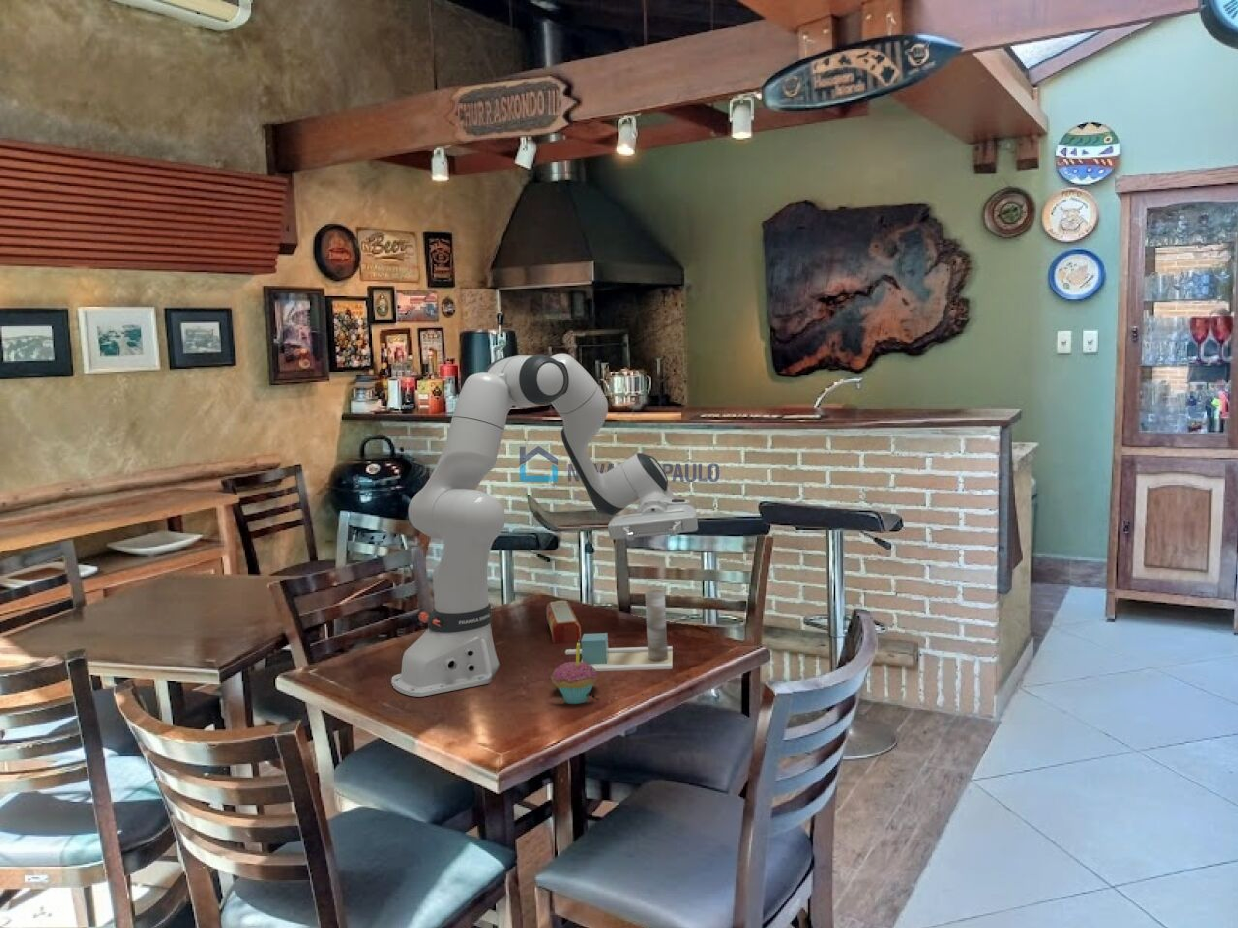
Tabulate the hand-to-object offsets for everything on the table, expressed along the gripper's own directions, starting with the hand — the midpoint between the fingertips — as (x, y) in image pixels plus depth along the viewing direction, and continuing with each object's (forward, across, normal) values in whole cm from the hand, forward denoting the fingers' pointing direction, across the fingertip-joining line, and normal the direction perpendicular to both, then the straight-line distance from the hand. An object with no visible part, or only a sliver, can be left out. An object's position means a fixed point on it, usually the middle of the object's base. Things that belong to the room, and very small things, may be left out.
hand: (651, 535), depth 199 cm
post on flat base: (+16, -7, +22) cm, 28 cm away
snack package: (-7, -25, +25) cm, 36 cm away
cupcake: (+34, -15, +20) cm, 42 cm away
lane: (+16, -8, +23) cm, 29 cm away
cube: (+16, -13, +21) cm, 29 cm away
